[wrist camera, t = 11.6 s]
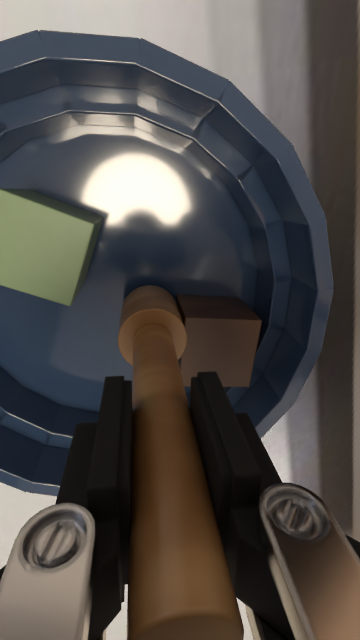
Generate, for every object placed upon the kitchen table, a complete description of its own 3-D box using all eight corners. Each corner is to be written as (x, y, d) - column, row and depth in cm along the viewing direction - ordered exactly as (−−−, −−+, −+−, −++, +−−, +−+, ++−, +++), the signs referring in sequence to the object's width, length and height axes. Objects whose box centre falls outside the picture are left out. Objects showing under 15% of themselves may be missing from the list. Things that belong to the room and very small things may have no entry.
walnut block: (239, 297, 20) (262, 320, 17) (230, 354, 22) (249, 387, 18) (176, 293, 20) (185, 317, 16) (171, 353, 21) (178, 386, 18)
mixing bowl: (303, 99, 17) (381, 56, 12) (260, 418, 25) (295, 483, 19) (-125, 73, 15) (-280, 2, 9) (-30, 436, 22) (-85, 517, 17)
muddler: (177, 284, 18) (305, 567, 5) (176, 336, 20) (276, 689, 6) (120, 285, 18) (64, 597, 4) (122, 338, 19) (85, 721, 5)
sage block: (103, 217, 18) (94, 224, 14) (83, 284, 19) (70, 307, 15) (27, 188, 17) (-4, 187, 13) (11, 261, 18) (-22, 279, 14)
